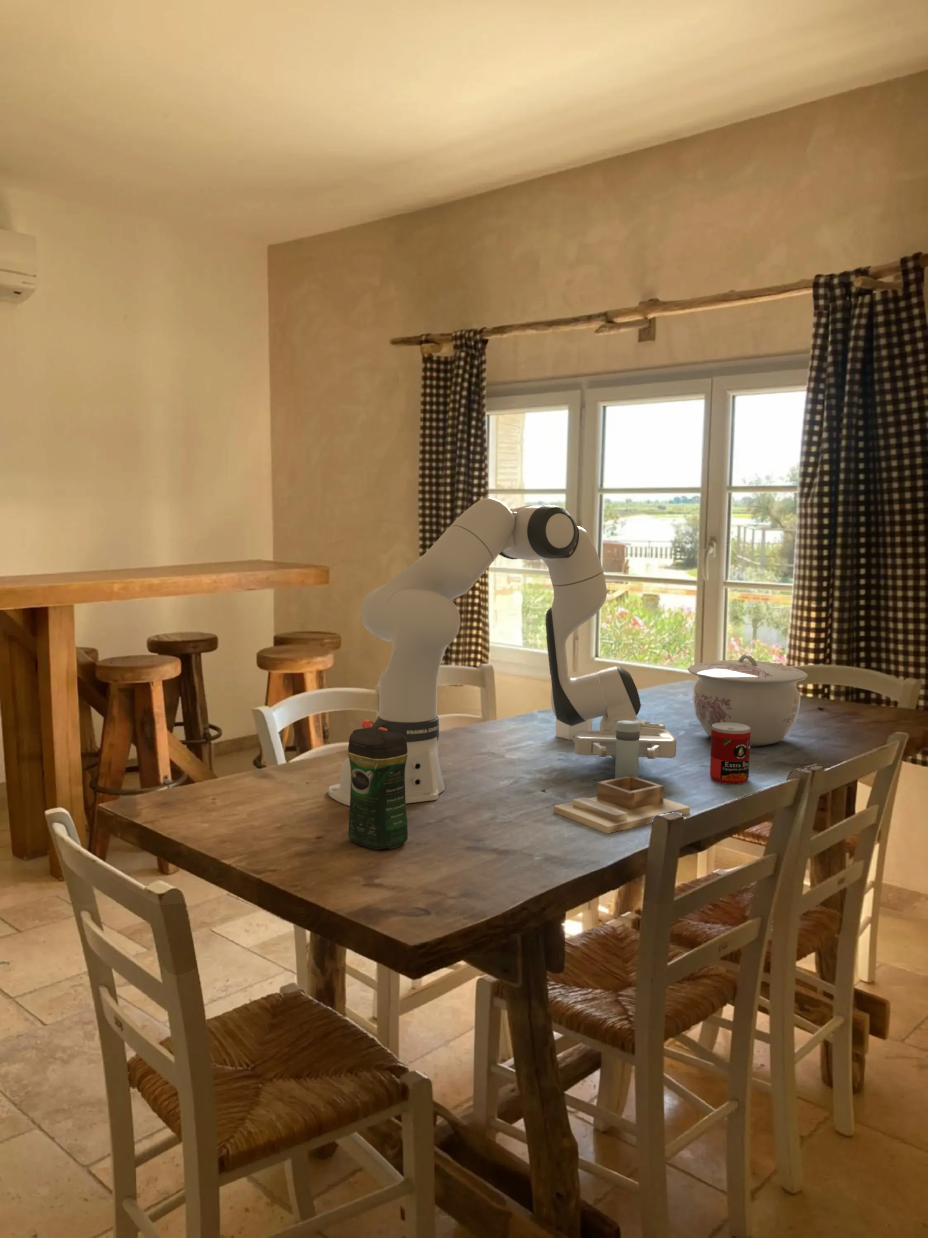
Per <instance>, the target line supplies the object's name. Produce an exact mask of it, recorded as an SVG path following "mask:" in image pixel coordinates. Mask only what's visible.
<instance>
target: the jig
mask: <svg viewBox="0 0 928 1238" xmlns="http://www.w3.org/2000/svg"><path fill="white" fill-rule="evenodd" d="M664 791H665V786H664V785H662V784H659V783H656V782H653V781H649V780H646V779H643V778H640V777H638V778H637V777H634V776H631V775H630V776H625V777H620V778H612V779H607V780H602V781H597V782H596V796H593V797H579V798H574V799H573V800H572V801H570V802H566V803H561V804H556V805H553V813H555V814H557V815H560V816H562V817H564V818H566V819H570V820H572V821H574V822H578V823H580V824H582V825H585V826H588V827H589V828H592V829H595V830H597V831H600V830H601V831H600V832H602V831H603V832H602V833H605V832H606V833H605V834H607V833H610V834H612V833H611V832H614V833H617V832H616V831H618V832H621V830H622V831H626V830H628V829H629V830H630V829H634V828H637V827H640V826H641V825H642V826H645V825H648V824H649V823H650V824H653V823H652V820H653V817H654V816H656V815H660V814H666V813H672V812H679V813H682V814H683V815H682V816H685V815H689V814H690V812H691V811H690V810H691V807H690V806H688V805H685V804H682V803H679V802H676V801H673V800H671V799H666V798H664V794H665V792H664ZM647 823H648V824H647ZM633 827H634V828H633Z"/></svg>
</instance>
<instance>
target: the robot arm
mask: <svg viewBox="0 0 928 1238" xmlns="http://www.w3.org/2000/svg"><path fill="white" fill-rule="evenodd" d="M499 556H501V557H503V558H505V559H508V560H526V561H537V560H539V561H540V560H542V561H543V562H544V564H545V565H546V567H547V568H548V569H547V570H548V573H549V577H550V580H551V584H552V589H553V600H552V605H551V607H550V608H549V609H548V610H546V612H545V613H546V614H545V631H546V632H545V633H546V646H547V654H548V655H547V656H548V665H549V675H550V683H551V687H550V706H551V709H552V713H553V715H554V716H555V719H556V718H557V719H558V720H559V721H561V722H563V723H565V724H567V725H570V726H574V725H576V724H579V723H582V722H585V721H586V720H589V719H592V720H593V719H596V718H600V717H601V718H600V723H599V730H592V731H579V732H578V733H577V734H576V736H573V740H572V741H573V743H574V754H576V755H581V756H598V757H599V758H606V757H607V756H608V757H611V758H613V759H615V760H616V729H617V722H618V721H624V720H627V721H636V722H639V723H640V729H639V730H640V738H639V758H647V759H650V760H656V758H657V759H658V758H660V759H661V758H662V759H663V758H664V759H674V758H675V757H676V756H677V739H676V737H675V736H674V735H673V733H672V732H671V731H669V730H668V729H666V725H665V724H662V723H658V722H651V721H645V720H642V719H639V718H638V715H639V712H640V710H641V707H642V704H641V700H640V695H639V691H638V689H637V686H636V684H635V682H634V681H635V680H634V679H633V677H632V675H631V673H630V672H629V671H627V670H626V669H625V668H623V667H621V666H618V665H615V666H614V665H613V666H611V667H607V668H603V669H599V670H597V671H593V672H590V673H587V674H582V675H579V676H574V677H572V676H570V675H569V669H568V660H567V659H568V658H567V650H566V649H567V648H566V645H567V641H568V639H569V637H570V635H572V633H573V632H574V631H575V630H577V629H578V628H579V627H581V625H583V624H584V623H586V622H588V621H589V620H590V619H592V618H593V617H594V616H595V615H596V614H597V613H598V612H599V611H600V610H601V609H602V607H603V605H604V604H605V602H606V599H607V595H608V588H607V582H606V577H605V573H604V570H603V566H602V563H601V560H600V557H599V554H598V550H597V549H596V547H595V545H594V542H593V540H592V538H591V536H590V534H589V532H588V531H587V530H586V529H584V527H581V526H579V525H577V524H576V521H575V519H574V518H573V516H572V515H571V513H570V512H569V511H567V510H566V509H565V508H563V507H561V506H558V505H554V504H545V505H524V506H520V507H519V506H518V507H515V508H509V506H508V505H507V504H505V503H504V502H503V501H502V500H499V499H497V498H493V497H485V498H481V499H479V500H477V502H475V503H474V504H472V505H470V506H469V507H468V508H467V509H466V510H465V511H463V513H461V514H460V515H459V516H458V517H457V518H456V519H455V520H454V521H453V522H452V523H451V525H450V526H449V527H448V528H446V530H445V531H444V532H443V534H442V535H441V536H440V537H439V538H438V539H437V540H435V542H434V543H433V545H431V547H430V548H429V549H428V550H427V551H426V552H425V553H424V554H422V555H421V556H420V557H419V558H418V559H417V560H415V562H413V563H411V564H410V565H409V566H408V567H406V568H405V569H404V570H402V571H401V572H400V573H398V574H397V575H396V576H394V577H393V578H391V580H389V581H388V582H387V583H385V584H383V585H381V586H380V587H377V588H375V589H373V590H372V591H369V592H368V593H367V594H366V595H365V597H364V598H363V600H362V602H361V605H360V611H359V615H360V619H361V620H360V621H361V623H362V626H364V628H365V629H366V630H367V631H368V632H369V633H370V634H372V635H373V636H374V637H377V638H378V639H379V640H381V641H385V642H389V643H392V649H391V654H390V658H389V662H388V664H387V667H386V669H385V670H383V671H382V672H381V673H380V676H379V680H378V681H379V683H378V685H379V686H378V687H379V690H378V692H379V693H378V695H379V696H378V697H379V698H378V699H379V700H378V702H379V703H378V704H379V707H378V709H379V713H378V714H379V715H378V716H377V718H376V720H375V721H374V722H373V721H372V720H369V719H366V718H364V719H363V720H362V721H360V729H363V728H369V727H373V728H377V729H381V730H385V731H389V732H394V733H399V734H402V735H403V736H405V737H406V740H407V750H408V757H407V761H406V765H405V798H406V804H410V803H411V804H412V803H420V802H429V801H436V800H438V799H439V795H440V794H441V793H443V792H444V790H445V788H446V787H445V784H444V780H443V777H442V776H443V775H442V772H441V766H440V760H439V758H440V757H439V748H438V741H439V737H440V717H439V716H438V714H437V712H438V711H437V708H438V679H439V673H440V669H441V664H442V661H443V659H444V658H443V657H444V656H445V652H446V650H447V648H448V646H450V645H451V643H452V642H453V641H454V640H455V638H457V636H458V633H459V631H460V628H461V615H460V611H459V608H458V606H457V605H456V604H455V603H454V601H453V600H454V599H457V598H458V597H460V596H463V595H465V594H466V593H467V592H469V591H470V590H471V589H472V587H473V586H474V585H475V583H476V582H477V581H478V580H479V579H481V577H482V576H483V575H484V573H485V572H486V571H487V569H488V568H489V567H490V566H491V565H492V564H493V562H494V561H495V560H496V559H497V557H499ZM342 763H343V764H342V767H341V772H340V777H339V783H336V784H332V785H330V786H329V787H328V792H327V793H328V796H329V797H330V798H332V799H333V800H334V801H336V802H337V803H338V802H339V803H340V804H343V805H346V806H349V807H350V790H351V768H350V761H349V756H348V757H347V758H346V759H345V760H344V762H342Z"/></svg>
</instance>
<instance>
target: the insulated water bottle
mask: <svg viewBox="0 0 928 1238" xmlns="http://www.w3.org/2000/svg"><path fill="white" fill-rule="evenodd" d="M639 729H640V723H639V722H636V721H627V720H624V721H618V722H617V729H616V759H615V767H614V768H615V771H614V772H615V773H614V777H615V778H620V777H625V776H630V775H631V776H634V777H637V778H639V758H640V757H639V738H640V730H639ZM615 778H614V779H615Z"/></svg>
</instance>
